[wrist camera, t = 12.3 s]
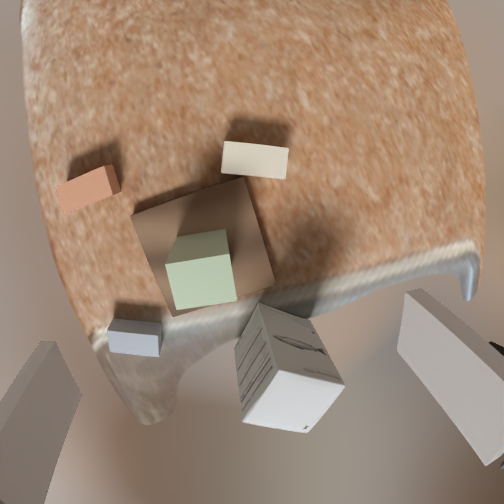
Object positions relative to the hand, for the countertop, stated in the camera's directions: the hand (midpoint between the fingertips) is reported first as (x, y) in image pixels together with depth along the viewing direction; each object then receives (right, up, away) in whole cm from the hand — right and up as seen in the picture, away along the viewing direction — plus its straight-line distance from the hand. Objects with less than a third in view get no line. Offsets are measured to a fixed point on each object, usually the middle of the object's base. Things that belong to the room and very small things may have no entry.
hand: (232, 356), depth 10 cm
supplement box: (+3, -6, +27) cm, 28 cm away
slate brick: (-13, -6, +25) cm, 29 cm away
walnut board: (-4, +4, +22) cm, 23 cm away
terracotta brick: (-16, +10, +19) cm, 27 cm away
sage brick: (-4, +4, +21) cm, 22 cm away
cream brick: (+1, +13, +20) cm, 24 cm away
